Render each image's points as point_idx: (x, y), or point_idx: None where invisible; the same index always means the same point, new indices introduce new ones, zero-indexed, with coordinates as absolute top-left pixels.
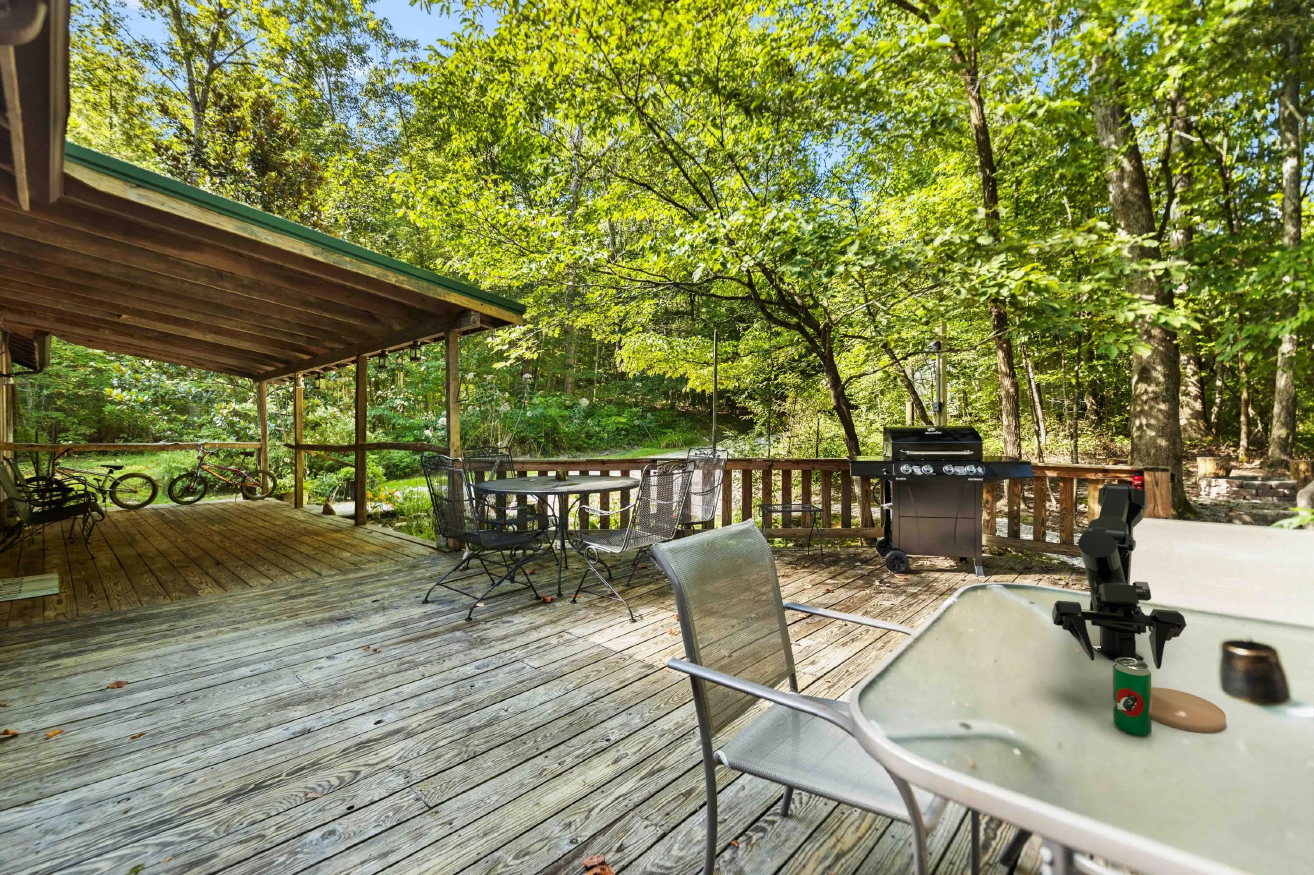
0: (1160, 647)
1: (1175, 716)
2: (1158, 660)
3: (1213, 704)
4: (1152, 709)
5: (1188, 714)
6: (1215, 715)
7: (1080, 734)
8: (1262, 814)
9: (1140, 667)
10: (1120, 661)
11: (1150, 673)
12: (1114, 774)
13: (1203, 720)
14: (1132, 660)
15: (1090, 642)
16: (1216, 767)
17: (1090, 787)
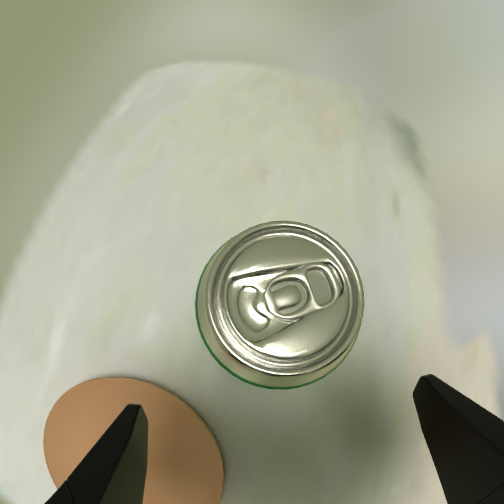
0: (81, 485)
1: (144, 402)
2: (125, 424)
3: (55, 481)
4: (191, 424)
5: (112, 422)
6: (60, 430)
7: (366, 261)
8: (131, 131)
9: (251, 246)
10: (341, 296)
11: (202, 274)
12: (314, 147)
13: (88, 398)
14: (275, 338)
15: (471, 425)
16: (131, 234)
17: (345, 112)
